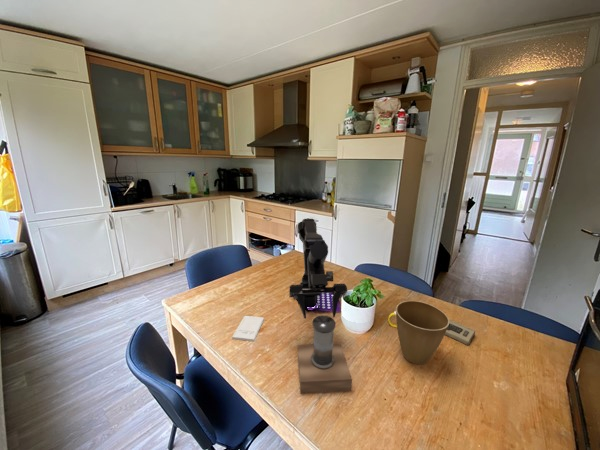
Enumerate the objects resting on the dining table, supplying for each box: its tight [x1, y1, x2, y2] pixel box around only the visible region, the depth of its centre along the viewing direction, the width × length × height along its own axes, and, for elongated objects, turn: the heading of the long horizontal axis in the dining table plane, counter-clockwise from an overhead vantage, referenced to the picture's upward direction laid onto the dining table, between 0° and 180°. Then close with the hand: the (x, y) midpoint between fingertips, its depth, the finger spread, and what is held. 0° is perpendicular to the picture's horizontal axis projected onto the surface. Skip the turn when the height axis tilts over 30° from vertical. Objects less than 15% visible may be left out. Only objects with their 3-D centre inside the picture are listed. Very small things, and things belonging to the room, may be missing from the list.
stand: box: [297, 342, 353, 395], centre depth 76 cm, size 14×14×4 cm
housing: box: [311, 315, 336, 370], centre depth 74 cm, size 7×7×13 cm
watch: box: [387, 310, 397, 328], centre depth 96 cm, size 6×3×6 cm, turn 69°
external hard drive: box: [231, 315, 265, 342], centre depth 95 cm, size 2×8×12 cm
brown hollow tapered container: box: [395, 300, 450, 366], centre depth 80 cm, size 15×15×16 cm
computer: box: [444, 318, 476, 346], centre depth 95 cm, size 16×8×3 cm, turn 42°
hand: (319, 317), depth 80 cm, fingers open, 9 cm apart
